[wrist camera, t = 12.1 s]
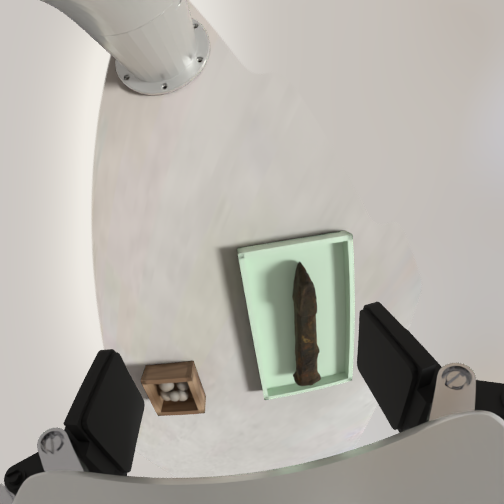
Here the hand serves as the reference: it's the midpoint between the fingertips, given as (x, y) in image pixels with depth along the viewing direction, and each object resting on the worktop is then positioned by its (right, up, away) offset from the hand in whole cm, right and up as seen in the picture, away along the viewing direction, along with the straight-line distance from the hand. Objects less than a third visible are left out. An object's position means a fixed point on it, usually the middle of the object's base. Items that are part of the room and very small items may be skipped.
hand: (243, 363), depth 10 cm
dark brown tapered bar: (+7, -6, +31) cm, 32 cm away
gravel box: (-12, -17, +32) cm, 39 cm away
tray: (+8, -6, +31) cm, 32 cm away
